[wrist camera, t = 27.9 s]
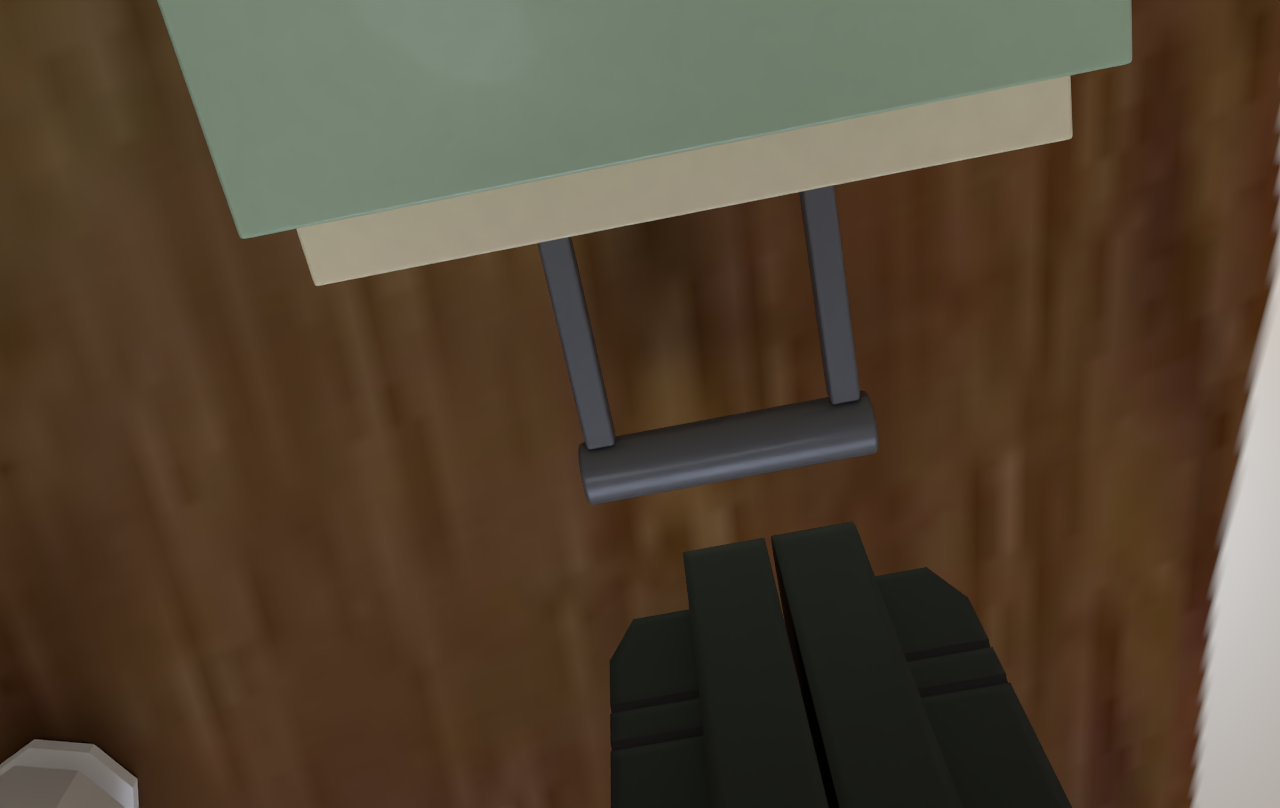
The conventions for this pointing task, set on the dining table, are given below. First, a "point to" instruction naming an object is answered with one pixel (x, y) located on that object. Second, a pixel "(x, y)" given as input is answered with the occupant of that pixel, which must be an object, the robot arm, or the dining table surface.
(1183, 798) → the dining table surface
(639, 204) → the drawer
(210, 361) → the dining table surface
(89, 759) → the cup
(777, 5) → the cabinet
